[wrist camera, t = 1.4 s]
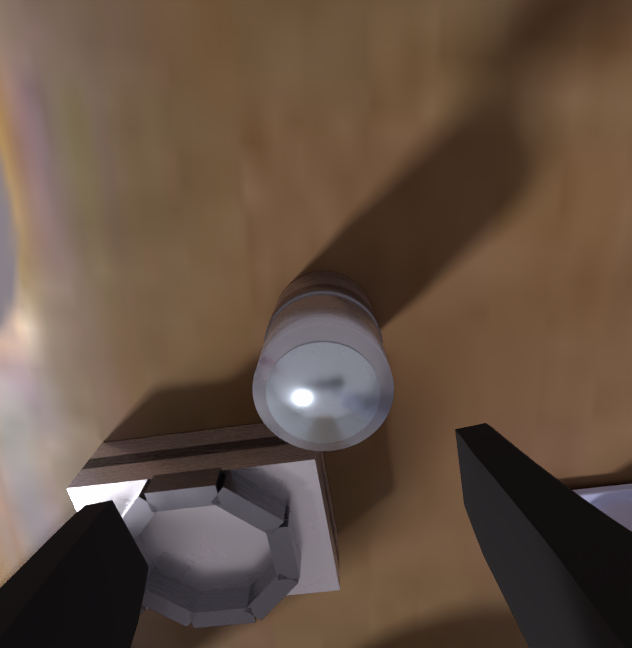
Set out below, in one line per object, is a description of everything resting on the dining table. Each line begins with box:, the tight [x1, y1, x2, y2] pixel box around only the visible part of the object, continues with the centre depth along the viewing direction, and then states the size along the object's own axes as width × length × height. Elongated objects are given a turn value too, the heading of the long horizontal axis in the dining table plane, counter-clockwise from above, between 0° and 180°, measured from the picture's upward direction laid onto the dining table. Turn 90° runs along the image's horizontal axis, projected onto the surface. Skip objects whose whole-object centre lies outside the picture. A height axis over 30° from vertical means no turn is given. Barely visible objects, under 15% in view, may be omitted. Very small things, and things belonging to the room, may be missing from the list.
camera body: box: [67, 423, 340, 628], centre depth 20 cm, size 10×7×4 cm
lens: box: [253, 271, 394, 451], centre depth 15 cm, size 4×4×6 cm
